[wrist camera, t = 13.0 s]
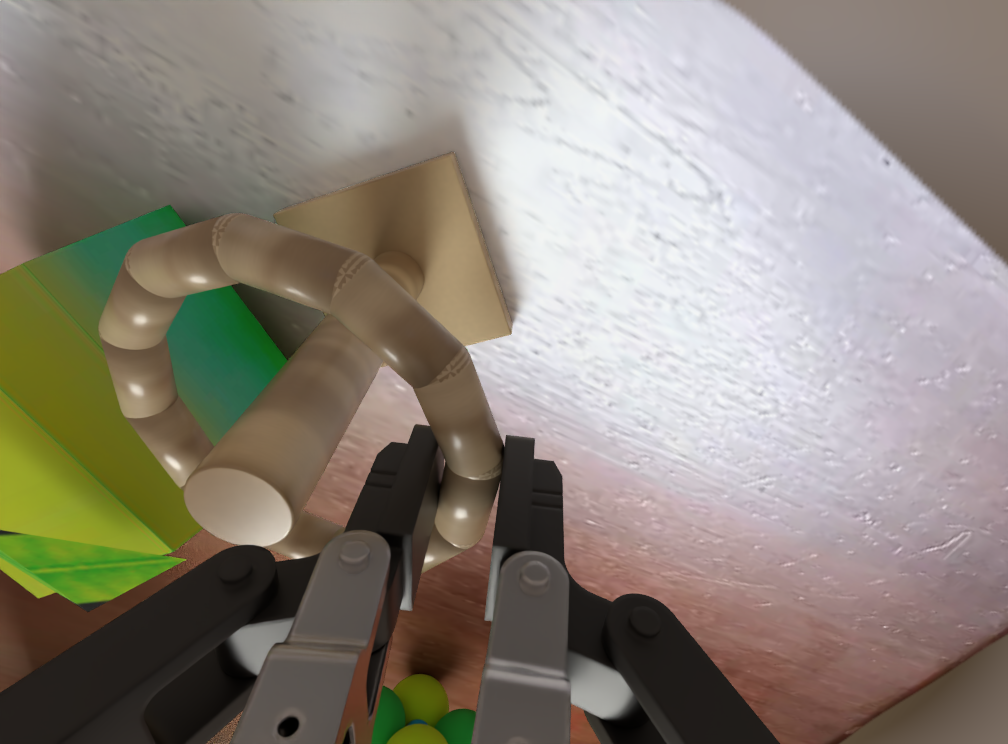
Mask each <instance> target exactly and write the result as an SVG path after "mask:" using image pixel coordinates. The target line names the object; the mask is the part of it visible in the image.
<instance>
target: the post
mask: <svg viewBox="0 0 1008 744" xmlns="http://www.w3.org/2000/svg"><path fill="white" fill-rule="evenodd" d="M273 216H274V218H275V220H276V222H277V224H278V225H281V226H284V227H287V228H290V229H293V230H296V231H299V232H302V233H305V234H308V235H311V236H314V237H317V238H320V239H323V240H326V241H329V242H332V243H335V244H338V245H340V246H343V247H346V248H349V249H352V250H355V251H358V252H361V253H363V254H365V255H367V256H369V257H370V258H371V259H372V260H374V261H375V262H376V263H377V264H378V265H379V266H380V267H381V268H382V269H383V270H384V271H385V272H386V273H388V274H389V275H390V276H391V277H392V278H393V279H394V280H395V281H396V282H397V283H398V284H399V285H400V286H401V287H402V288H403V289H405V290H406V291H407V292H408V293H409V294H410V295H411V296H412V297H413V298H414V299H415V300H416V301H417V302H418V303H419V304H420V305H421V306H423V307H424V308H425V309H426V310H427V311H428V312H429V313H430V314H431V315H432V316H433V317H434V318H435V319H436V320H437V321H438V322H440V323H441V324H442V325H443V326H444V327H445V328H446V329H447V330H448V331H449V332H450V333H451V334H452V335H453V336H454V337H455V338H457V339H458V340H459V341H460V342H461V343H462V344H463V345H464V346H467V345H471V344H475V343H479V342H483V341H487V340H491V339H495V338H499V337H503V336H507V335H511V334H512V327H513V324H512V321H511V318H510V315H509V312H508V309H507V306H506V303H505V300H504V297H503V294H502V291H501V288H500V285H499V283H498V280H497V277H496V274H495V271H494V268H493V265H492V262H491V259H490V256H489V253H488V250H487V247H486V244H485V241H484V238H483V235H482V232H481V229H480V226H479V223H478V220H477V217H476V214H475V211H474V208H473V205H472V202H471V199H470V196H469V194H468V191H467V188H466V185H465V182H464V179H463V176H462V173H461V170H460V167H459V164H458V161H457V158H456V155H455V153H454V152H450V153H447V154H444V155H442V156H439V157H436V158H433V159H430V160H427V161H424V162H421V163H418V164H415V165H412V166H409V167H406V168H403V169H400V170H397V171H394V172H391V173H388V174H385V175H382V176H379V177H376V178H373V179H370V180H367V181H364V182H361V183H358V184H355V185H352V186H349V187H346V188H343V189H340V190H337V191H334V192H331V193H328V194H325V195H322V196H319V197H316V198H313V199H310V200H307V201H304V202H301V203H298V204H295V205H292V206H289V207H286V208H283V209H281V210H280V211H278V212H276V213H275V214H273ZM322 312H323V311H322ZM323 314H324V316H325V318H324V319H323V320H322V321H321V322H320V323H319V325H318V326H317V327H316V328H315V329H314V330H313V332H312V333H311V334H310V335H309V336H308V337H307V339H306V340H305V341H304V342H303V343H302V345H301V346H300V347H299V348H298V349H297V350H296V352H295V353H294V354H293V355H292V356H291V357H290V359H289V360H288V361H287V362H286V363H285V364H284V366H283V367H282V368H281V369H280V370H279V371H278V373H277V374H276V375H275V376H274V377H273V378H272V380H271V381H270V382H269V383H268V384H267V386H266V387H265V388H264V389H263V390H262V391H261V393H260V394H259V395H258V396H257V397H256V398H255V400H254V401H253V402H252V403H251V404H250V405H249V407H248V408H247V409H246V410H245V411H244V412H243V414H242V415H241V416H240V417H239V418H238V420H237V421H236V422H235V423H234V424H233V425H232V427H231V428H230V429H229V430H228V431H227V432H226V434H225V435H224V436H223V437H222V438H221V439H220V441H219V442H218V443H217V444H216V445H215V446H214V448H213V449H212V450H211V451H210V452H209V454H208V455H207V456H206V457H205V458H204V459H203V461H202V462H201V463H200V464H199V465H198V466H197V468H196V469H195V470H194V471H193V472H192V473H191V475H190V476H189V477H188V479H187V480H186V483H185V486H184V501H185V504H186V507H187V509H188V511H189V513H190V514H191V516H192V517H193V518H194V519H195V521H196V522H197V523H198V524H199V525H200V526H201V527H203V528H204V529H205V530H206V531H208V532H209V533H211V534H212V535H214V536H216V537H218V538H220V539H222V540H224V541H226V542H229V543H232V544H236V545H257V546H261V547H265V546H270V545H273V544H276V543H278V542H280V541H281V540H283V539H284V538H286V537H287V536H288V535H289V534H290V532H291V531H292V529H293V527H294V525H295V524H296V522H297V520H298V518H299V516H300V514H301V513H302V511H303V509H304V507H305V505H306V503H307V501H308V500H309V498H310V496H311V494H312V492H313V490H314V489H315V487H316V485H317V483H318V481H319V479H320V477H321V476H322V474H323V472H324V470H325V468H326V466H327V465H328V463H329V461H330V459H331V457H332V455H333V453H334V452H335V450H336V448H337V446H338V444H339V442H340V441H341V439H342V437H343V435H344V433H345V431H346V429H347V428H348V426H349V424H350V422H351V420H352V418H353V417H354V415H355V413H356V411H357V409H358V407H359V405H360V404H361V402H362V400H363V398H364V396H365V394H366V393H367V391H368V389H369V387H370V385H371V383H372V381H373V380H374V378H375V376H376V374H377V372H378V370H379V369H380V367H384V366H388V365H387V364H386V363H385V362H384V361H383V360H382V359H381V358H380V357H378V356H377V355H376V354H375V353H374V352H373V351H372V350H371V349H370V348H368V347H367V346H366V345H365V344H364V343H363V342H362V341H361V340H359V339H358V338H357V337H356V336H355V335H354V334H353V333H352V332H351V331H349V330H348V329H347V328H346V327H345V326H344V325H343V324H342V323H340V322H339V321H338V320H337V319H336V318H335V317H334V316H333V315H332V314H329V313H326V312H323Z"/></svg>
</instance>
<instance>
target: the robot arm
mask: <svg viewBox="0 0 1008 744" xmlns="http://www.w3.org/2000/svg"><path fill="white" fill-rule="evenodd" d="M534 444H535V438H527V437H519V436H510V435H506V441H505V449H504V457H503V465H502V474H501V482H500V490H499V498H498V506H497V515H496V523H495V531H494V539H493V547H492V556H491V565H490V574H489V583H488V592H487V601H486V610H485V619H484V620H486V621H492V624H491V630H490V636H489V643H488V649H487V655H486V661H485V664H484V668H483V674H482V680H481V686H480V692H479V698H478V704H477V710H476V716H475V722H474V728H473V734H472V740H471V744H570V719H571V704H573V705H575V706H577V707H579V708H581V709H583V710H584V713H585V716H586V718H587V720H588V722H589V724H590V725H591V727H592V729H593V730H594V732H595V734H596V736H597V737H598V739H599V741H600V743H601V744H780V743H779V742H778V741H777V739H776V738H775V737H774V736H773V734H772V733H771V732H770V731H769V730H768V728H767V727H766V726H765V725H764V724H763V722H762V721H761V720H760V719H759V717H758V716H757V715H756V714H755V713H754V711H753V710H752V709H751V708H750V706H749V705H748V704H747V703H746V702H745V700H744V699H743V698H742V697H741V696H740V694H739V693H738V692H737V691H736V689H735V688H734V687H733V686H732V685H731V683H730V682H729V681H728V680H727V679H726V677H725V676H724V675H723V674H722V672H721V671H720V670H719V669H718V668H717V666H716V665H715V664H714V663H713V662H712V660H711V659H710V658H709V657H708V655H707V654H706V653H705V652H704V651H703V649H702V648H701V647H700V646H699V644H698V643H697V642H696V641H695V640H694V638H693V637H692V636H691V635H690V634H689V632H688V631H687V630H686V629H685V627H684V626H683V625H682V624H681V623H680V621H679V620H678V619H677V618H676V617H675V615H674V614H673V613H672V612H671V611H670V610H669V609H668V608H667V607H666V606H665V605H664V604H663V603H661V602H659V601H658V600H656V599H654V598H652V597H649V596H646V595H642V594H626V595H623V596H620V597H618V598H617V599H615V600H614V601H613V602H611V601H609V600H607V599H604V598H602V597H599V596H597V595H595V594H593V593H591V592H589V591H587V590H585V589H584V588H582V587H581V586H580V585H579V584H577V583H576V582H575V580H574V579H573V578H572V577H571V575H570V574H569V572H568V570H567V568H566V565H565V561H564V531H563V496H562V494H563V485H562V475H561V473H560V472H559V470H558V468H557V466H556V465H555V463H554V461H547V460H539V459H534ZM443 471H444V456H443V454H442V452H441V450H440V447H439V445H438V443H437V441H436V438H435V436H434V434H433V432H432V429H431V427H430V426H426V425H418V424H416V425H415V426H414V428H413V431H412V434H411V436H410V439H409V442H408V444H405V443H396V442H391V443H390V444H389V445H388V446H386V447H385V448H384V449H383V450H382V451H381V452H380V453H378V454H377V457H376V459H375V461H374V463H373V466H372V468H371V472H370V473H369V475H368V477H367V480H366V482H365V485H364V487H363V489H362V491H361V493H360V496H359V498H358V500H357V503H356V505H355V507H354V510H353V512H352V514H351V516H350V519H349V521H348V523H347V526H346V528H345V530H344V532H343V533H342V534H340V535H338V536H336V537H334V538H333V539H331V540H330V541H329V542H328V543H327V544H326V545H325V546H324V548H323V549H322V551H321V552H320V553H318V554H316V555H313V556H310V557H305V558H299V559H292V560H285V561H279V562H275V558H274V557H273V555H272V554H271V553H270V551H268V550H267V549H265V548H263V547H261V546H257V545H239V546H234V547H231V548H228V549H225V550H223V551H221V552H219V553H217V554H216V555H214V556H213V557H211V558H209V559H208V560H206V561H205V562H203V563H202V564H200V565H199V566H197V567H195V568H194V569H192V570H191V571H189V572H188V573H186V574H185V575H183V576H181V577H180V578H178V579H177V580H175V581H174V582H172V583H171V584H169V585H167V586H166V587H164V588H163V589H161V590H160V591H158V592H157V593H155V594H153V595H152V596H150V597H149V598H147V599H146V600H144V601H142V602H141V603H139V604H138V605H136V606H135V607H133V608H132V609H130V610H128V611H127V612H125V613H124V614H122V615H121V616H119V617H118V618H116V619H114V620H113V621H111V622H110V623H108V624H107V625H105V626H104V627H102V628H100V629H99V630H97V631H96V632H94V633H93V634H91V635H90V636H88V637H86V638H85V639H83V640H82V641H80V642H79V643H77V644H76V645H74V646H72V647H71V648H69V649H68V650H66V651H65V652H63V653H61V654H60V655H58V656H57V657H55V658H54V659H52V660H51V661H49V662H47V663H46V664H44V665H43V666H41V667H40V668H38V669H37V670H35V671H33V672H32V673H30V674H29V675H27V676H26V677H24V678H23V679H21V680H19V681H18V682H16V683H15V684H13V685H12V686H10V687H9V688H7V689H5V690H4V691H2V692H1V693H0V744H206V743H207V742H208V741H209V740H210V739H211V738H212V737H213V736H215V735H216V734H217V733H218V732H219V731H220V730H221V729H222V728H224V727H225V726H226V725H227V724H228V723H229V722H230V721H231V720H233V719H234V718H235V717H236V716H237V715H238V714H239V713H240V712H241V711H243V713H242V715H241V717H240V720H239V722H238V724H237V727H236V729H235V732H234V734H233V736H232V739H231V741H230V744H371V742H372V735H373V729H374V724H375V719H376V715H377V710H378V705H379V701H380V696H381V692H382V687H383V682H384V678H385V673H386V669H387V664H388V659H389V655H390V650H391V645H392V639H393V631H394V628H395V625H396V621H397V617H398V614H399V610H407V611H412V608H413V604H414V600H415V596H416V592H417V588H418V584H419V580H420V576H421V572H422V568H423V564H424V560H425V556H426V553H427V549H428V545H429V541H430V537H431V533H432V529H433V525H434V521H435V517H436V513H437V509H438V499H439V490H440V486H441V481H442V476H443Z"/></svg>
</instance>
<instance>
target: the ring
mask: <svg viewBox="0 0 1008 744" xmlns="http://www.w3.org/2000/svg"><path fill="white" fill-rule="evenodd" d="M238 283H243V284H246V285H249V286H252V287H255V288H258V289H260V290H263V291H266V292H269V293H272V294H275V295H278V296H280V297H283V298H286V299H289V300H292V301H295V302H297V303H300V304H303V305H306V306H309V307H312V308H315V309H317V310H320V311H323V312H326V313H329V314H332V315H333V316H334V317H335V318H336V319H337V320H338V321H339V322H340V323H342V324H343V325H344V326H345V327H346V328H347V329H348V330H349V331H351V332H352V333H353V334H354V335H355V336H356V337H357V338H358V339H359V340H361V341H362V342H363V343H364V344H365V345H366V346H367V347H368V348H370V349H371V350H372V351H373V352H374V353H375V354H376V355H377V356H378V357H380V358H381V359H382V360H383V361H384V362H385V363H386V364H387V365H388V366H390V367H391V368H392V369H393V370H394V371H395V372H396V373H397V374H399V375H400V376H401V377H402V378H403V379H404V380H405V381H406V382H407V383H409V384H410V385H411V386H412V387H413V389H414V391H415V394H416V396H417V398H418V400H419V403H420V405H421V407H422V409H423V412H424V414H425V416H426V418H427V421H428V423H429V425H430V427H431V429H432V432H433V434H434V436H435V438H436V441H437V443H438V445H439V447H440V450H441V452H442V454H443V456H444V458H445V461H446V462H445V466H444V471H443V476H442V481H441V486H440V490H439V499H438V509H437V513H436V517H435V521H434V525H433V529H432V533H431V537H430V541H429V545H428V549H427V553H426V556H425V560H424V564H423V568H422V572H421V574H422V573H424V572H426V571H427V570H429V569H431V568H433V567H435V566H437V565H439V564H441V563H443V562H444V561H446V560H448V559H450V558H452V557H454V556H456V555H458V554H460V553H461V552H463V551H465V550H467V549H469V548H471V547H473V546H474V545H475V544H477V543H478V542H479V541H480V539H481V538H482V537H483V535H484V532H485V530H486V526H487V523H488V520H489V516H490V513H491V510H492V507H493V503H494V500H495V497H496V494H497V490H498V487H499V484H500V480H501V474H502V465H503V457H504V449H505V447H504V444H503V441H502V439H501V436H500V433H499V431H498V428H497V425H496V423H495V420H494V417H493V415H492V412H491V409H490V407H489V404H488V402H487V399H486V396H485V394H484V391H483V388H482V386H481V383H480V380H479V378H478V375H477V372H476V370H475V367H474V364H473V362H472V359H471V356H470V354H469V352H468V350H467V349H466V348H465V347H464V345H463V344H462V343H461V342H460V341H459V340H458V339H457V338H455V337H454V336H453V335H452V334H451V333H450V332H449V331H448V330H447V329H446V328H445V327H444V326H443V325H442V324H441V323H440V322H438V321H437V320H436V319H435V318H434V317H433V316H432V315H431V314H430V313H429V312H428V311H427V310H426V309H425V308H424V307H423V306H421V305H420V304H419V303H418V302H417V301H416V300H415V299H414V298H413V297H412V296H411V295H410V294H409V293H408V292H407V291H406V290H405V289H403V288H402V287H401V286H400V285H399V284H398V283H397V282H396V281H395V280H394V279H393V278H392V277H391V276H390V275H389V274H388V273H386V272H385V271H384V270H383V269H382V268H381V267H380V266H379V265H378V264H377V263H376V262H375V261H374V260H372V259H371V258H370V257H369V256H367V255H365V254H363V253H361V252H358V251H355V250H352V249H349V248H346V247H343V246H340V245H338V244H335V243H332V242H329V241H326V240H323V239H320V238H317V237H314V236H311V235H308V234H305V233H302V232H299V231H296V230H293V229H290V228H287V227H284V226H281V225H278V224H275V223H272V222H269V221H266V220H263V219H260V218H257V217H254V216H251V215H248V214H243V213H230V214H226V215H222V216H219V217H216V218H212V219H209V220H206V221H202V222H199V223H196V224H192V225H189V226H186V227H182V228H179V229H176V230H172V231H169V232H166V233H162V234H159V235H156V236H152V237H149V238H146V239H143V240H140V241H139V242H137V243H135V244H134V245H133V246H132V247H131V248H130V249H129V250H128V252H127V254H126V256H125V258H124V261H123V263H122V266H121V268H120V271H119V273H118V276H117V278H116V280H115V283H114V285H113V288H112V290H111V293H110V295H109V298H108V300H107V303H106V305H105V308H104V310H103V313H102V315H101V318H100V320H99V325H98V331H99V336H100V340H101V343H102V347H103V350H104V354H105V357H106V360H107V364H108V367H109V371H110V374H111V378H112V381H113V385H114V388H115V392H116V395H117V399H118V402H119V405H120V409H121V412H122V414H123V415H124V417H125V418H126V420H127V421H128V422H129V423H130V425H131V426H132V427H133V429H134V430H135V431H136V433H137V434H138V435H139V436H140V438H141V439H142V440H143V442H144V443H145V444H146V446H147V447H148V448H149V450H150V451H151V452H152V453H153V455H154V456H155V457H156V459H157V460H158V461H159V463H160V464H161V465H162V466H163V468H164V469H165V470H166V472H167V473H168V474H169V476H170V477H171V478H172V479H173V481H174V482H175V483H176V485H177V486H178V487H179V488H180V489H182V490H183V491H184V486H185V483H186V480H187V479H188V477H189V476H190V475H191V473H192V472H193V471H194V470H195V469H196V468H197V466H198V465H199V464H200V463H201V462H202V461H203V459H204V458H205V457H206V456H207V455H208V454H209V452H210V451H211V450H212V449H213V448H214V445H213V444H212V442H211V441H210V440H209V438H208V437H207V435H206V434H205V432H204V431H203V429H202V428H201V427H200V425H199V424H198V422H197V421H196V419H195V418H194V416H193V415H192V414H191V412H190V411H189V409H188V408H187V406H186V405H185V404H184V402H183V401H182V399H181V398H180V396H179V395H178V392H177V388H176V383H175V378H174V373H173V368H172V363H171V358H170V353H169V348H168V343H167V338H166V333H167V331H168V329H169V327H170V326H171V324H172V322H173V320H174V318H175V316H176V314H177V313H178V311H179V309H180V307H181V305H182V303H183V301H184V300H185V298H186V296H187V295H190V294H194V293H199V292H203V291H207V290H212V289H216V288H221V287H225V286H229V285H234V284H238ZM345 528H346V527H343V526H341V525H338V524H336V523H333V522H331V521H328V520H326V519H323V518H321V517H318V516H316V515H313V514H311V513H308V512H305V511H302V513H301V514H300V516H299V518H298V520H297V522H296V524H295V525H294V527H293V529H292V531H291V532H290V534H289V535H288V536H287V537H286V538H284V539H283V540H281V541H280V542H278V543H276V544H273V545H270V546H265V548H267V549H269V550H272V551H274V552H277V553H279V554H282V555H284V556H287V557H289V558H292V559H299V558H305V557H310V556H313V555H316V554H318V553H320V552H321V551H322V549H323V548H324V546H325V545H326V544H327V543H328V542H329V541H330V540H331V539H333V538H334V537H336V536H338V535H340V534H342V533H343V532H344V530H345Z"/></svg>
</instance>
